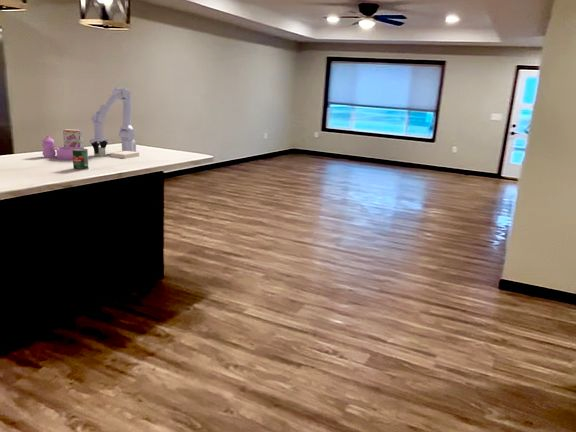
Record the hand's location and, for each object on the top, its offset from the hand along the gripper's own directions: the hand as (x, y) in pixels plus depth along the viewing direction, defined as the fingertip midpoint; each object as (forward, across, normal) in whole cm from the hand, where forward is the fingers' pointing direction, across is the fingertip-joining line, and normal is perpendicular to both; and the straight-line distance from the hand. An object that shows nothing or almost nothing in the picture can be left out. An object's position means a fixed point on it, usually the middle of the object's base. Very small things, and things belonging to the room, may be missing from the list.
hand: (99, 152), depth 328 cm
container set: (+2, +23, -8) cm, 24 cm away
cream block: (+2, -8, +14) cm, 16 cm away
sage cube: (+2, 0, 0) cm, 2 cm away
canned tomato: (+2, +43, +27) cm, 51 cm away
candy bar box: (+2, +10, -12) cm, 16 cm away
